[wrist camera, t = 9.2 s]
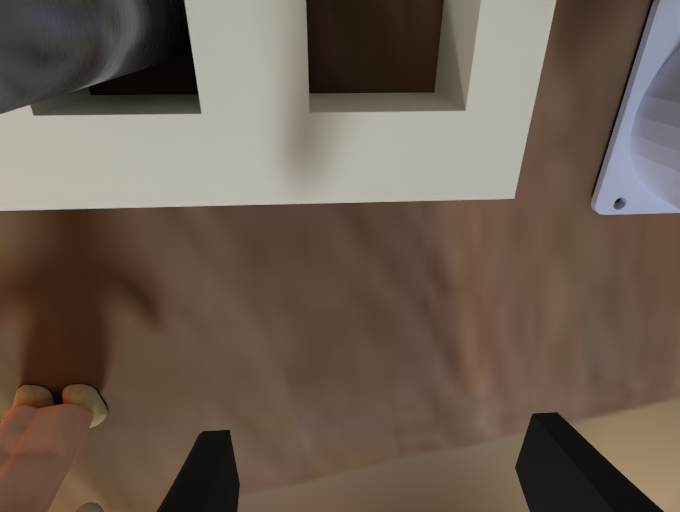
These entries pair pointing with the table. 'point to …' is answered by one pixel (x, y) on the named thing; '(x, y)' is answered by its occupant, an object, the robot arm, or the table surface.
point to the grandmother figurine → (44, 444)
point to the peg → (82, 44)
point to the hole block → (288, 121)
